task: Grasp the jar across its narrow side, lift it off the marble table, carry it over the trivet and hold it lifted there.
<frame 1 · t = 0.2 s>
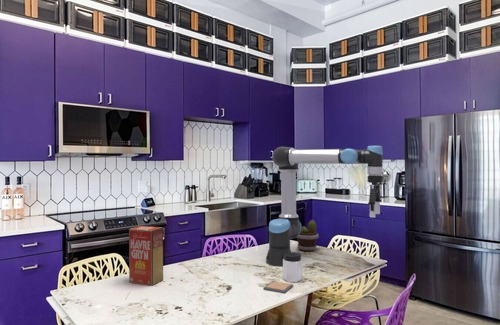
hand: (374, 215, 187), 28 cm above the table, fingers open, 13 cm apart
food packaging: (146, 281, 167), on the table
flowerpot: (307, 250, 228), on the table
trivet: (278, 288, 158), on the table
jar: (292, 279, 170), on the table
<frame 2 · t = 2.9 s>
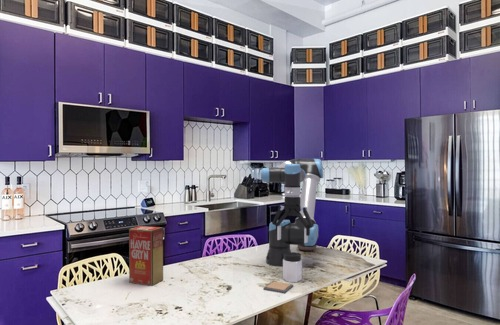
hand: (292, 241, 170), 18 cm above the table, fingers open, 13 cm apart
nothing on the table moved.
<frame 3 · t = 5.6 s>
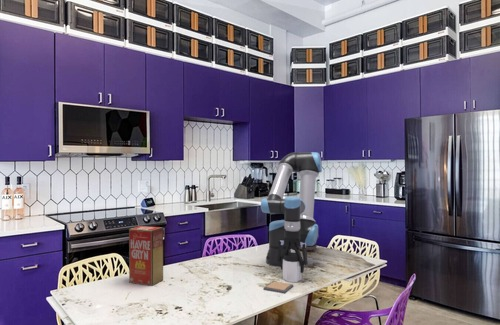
hand: (292, 277, 170), 1 cm above the table, fingers closed on jar, 7 cm apart
jar: (292, 279, 170), on the table, touching gripper
everything else where it was.
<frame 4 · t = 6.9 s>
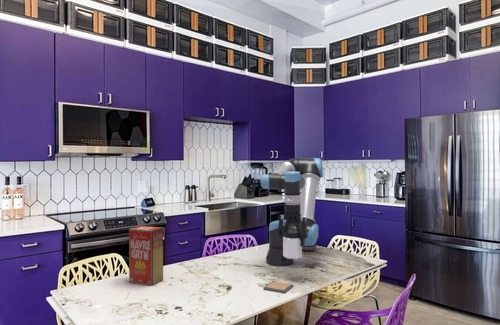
hand: (292, 251, 170), 13 cm above the table, fingers closed on jar, 7 cm apart
jar: (292, 256, 170), point 11 cm above the table, touching gripper
everything else where it was.
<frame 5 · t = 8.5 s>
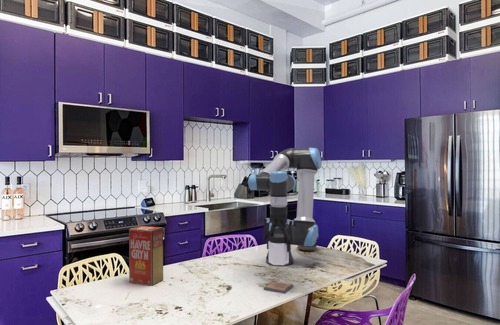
hand: (278, 257, 158), 13 cm above the table, fingers closed on jar, 7 cm apart
jar: (278, 263, 158), point 11 cm above the table, touching gripper
everything else where it was.
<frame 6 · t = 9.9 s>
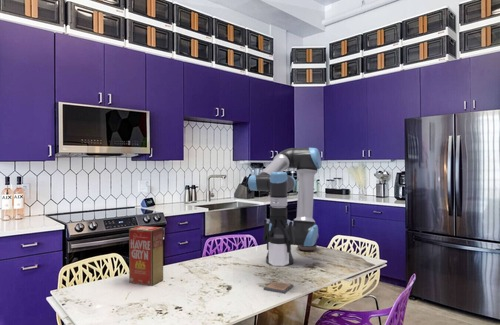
hand: (278, 258, 158), 13 cm above the table, fingers closed on jar, 7 cm apart
jar: (278, 263, 158), point 11 cm above the table, touching gripper
everything else where it was.
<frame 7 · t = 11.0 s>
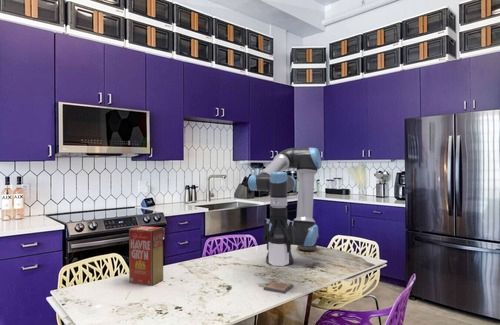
hand: (278, 258, 158), 13 cm above the table, fingers closed on jar, 7 cm apart
jar: (278, 263, 158), point 11 cm above the table, touching gripper
everything else where it was.
at the end: the gripper is holding jar; jar point 10.7 cm above the table; jar 0.1 cm from the trivet (horizontally) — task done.
